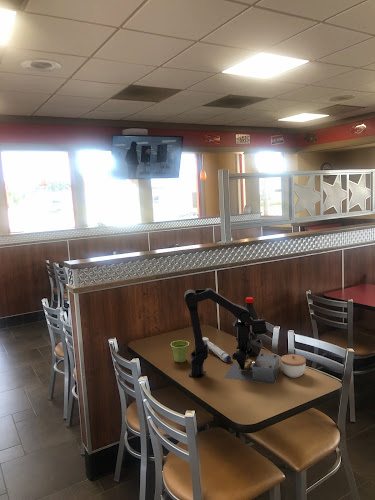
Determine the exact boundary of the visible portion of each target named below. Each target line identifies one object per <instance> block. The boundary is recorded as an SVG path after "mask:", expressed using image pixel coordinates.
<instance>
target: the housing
mask: <svg viewBox="0 0 375 500" xmlns="http://www.w3.org/2000/svg"><path fill="white" fill-rule="evenodd" d="M257 355H258V356H257V357H256V359H255V363H254V365H253V366H252V370H253V380H254V381H261V382H268V383H274V380H275V378H276V375H277V372H278V370H279V367H280V355H279V354H273V353H264V352H263V353H262V352H260V353H259V354H257ZM279 371H280V370H279ZM276 379H277V378H276Z"/></svg>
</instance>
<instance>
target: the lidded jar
mask: <svg viewBox="0 0 375 500" xmlns="http://www.w3.org/2000/svg"><path fill="white" fill-rule="evenodd" d="M280 360H281V369H282V371H283V373H284V374H285V375H286V376H287V377H289V378H295V379H297V378H299V377H301V376H302V375H304V373H305V371H306V367H307V366H306V365H307V364H306V363H307V359H306V358H305V356H302V355H299V354H293V353H292V354H290V353H288V354H285V355H282V356H281V358H280Z"/></svg>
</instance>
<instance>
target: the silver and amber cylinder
mask: <svg viewBox="0 0 375 500" xmlns="http://www.w3.org/2000/svg"><path fill="white" fill-rule="evenodd" d="M255 361H256V360H255ZM255 361H254V360H252V359H249V358H248V359H247V360H246V361H245V367H244V370H246V371H251V370H252V366H253V365H254V363H255ZM239 370H241V368H240V366H239Z"/></svg>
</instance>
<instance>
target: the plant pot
mask: <svg viewBox="0 0 375 500" xmlns="http://www.w3.org/2000/svg"><path fill="white" fill-rule="evenodd" d="M170 346H171V349H172V354H173V359H174V362H176V363H185V362H186V361H187V357H188V349H189V346H190V342H189V341H187V340H174V341H171V343H170Z"/></svg>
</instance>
